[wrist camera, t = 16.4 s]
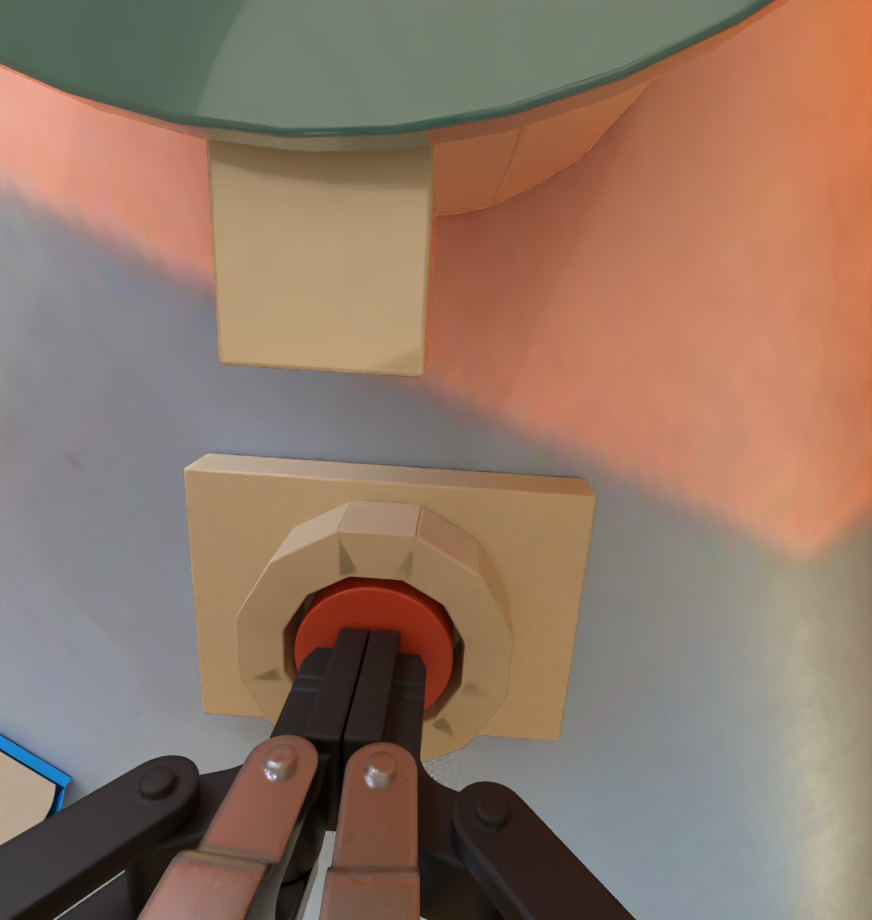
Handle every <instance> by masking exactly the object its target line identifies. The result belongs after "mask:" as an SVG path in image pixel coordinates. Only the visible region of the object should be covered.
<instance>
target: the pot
mask: <svg viewBox="0 0 872 920" xmlns="http://www.w3.org/2000/svg"><path fill="white" fill-rule="evenodd" d="M656 77H657V76H656ZM656 77H654V78H652V79H650V80H648V81H646V82H644V83H641V84H639V85H637V86H635V87H633V88H631V89H629V90H627V91H625V92H622V93H620V94H618V95H616V96H614V97H612V98H610V99H608V100H605V101H602V102H599V103H595V104H592V105H589V106H586V107H583V108H580V109H577V110H574V111H570V112H567V113H564V114H561V115H558V116H555V117H552V118H548V119H545V120H542V121H539V122H536V123H533V124H530V125H526V126H523V127H520V128H517V129H514V130H511V131H508V132H505V133H499V134H493V135H487V136H481V137H475V138H469V139H463V140H457V141H451V142H445V143H439V144H433V145H427V146H421V147H415V148H409V149H403V150H359V151H304V152H301V151H293V150H286V149H278V148H270V147H262V146H255V145H247V144H239V143H231V142H224V141H216V140H208V139H206V141H207V158H208V176H209V193H210V210H211V228H212V245H213V262H214V280H215V297H216V314H217V332H218V349H219V361H220V363H222V364H224V365H231V366H247V367H263V368H278V369H294V370H309V371H325V372H341V373H356V374H372V375H387V376H403V377H421V376H423V374H424V372H425V370H426V367H427V365H428V361H429V342H430V323H431V305H432V286H433V267H434V248H435V230H436V217H443V216H449V215H455V214H462V213H468V212H472V211H475V210H479V209H484V208H490V207H492V206H493V205H498V204H500V203H502V202H504V201H506V200H508V199H510V198H513V197H515V196H517V195H519V194H521V193H523V192H526V191H528V190H530V189H532V188H534V187H536V186H537V185H539V184H541V183H542V182H544V181H545V180H547V179H548V178H550V177H552V176H553V175H555V174H556V173H558V172H560V171H561V170H563V169H565V168H566V167H568V166H570V165H572V164H574V163H576V162H577V161H578V160H579V159H580V158H583V157H584V156H585V155H586V154H587V152H588V151H589V150H590V149H591V148H592V147H593V146H594V145H595V144H596V143H597V141H598V140H599V139H600V138H601V137H602V136H603V135H604V134H605V133H606V132H607V131H608V129H609V128H610V127H611V126H612V125H613V124H614V123H615V122H616V121H617V120H618V119H619V117H620V116H621V115H622V114H623V113H624V112H625V111H626V110H627V109H628V108H629V106H630V105H631V104H632V103H633V102H634V101H635V100H636V99H637V98H638V97H639V96H640V94H641V93H642V92H643V91H644V90H645V89H646V88H647V87H648V86H649V85H650V84H651V82H652V81H653V80H654V79H655V78H656Z"/></svg>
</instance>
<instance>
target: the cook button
mask: <svg viewBox="0 0 872 920" xmlns="http://www.w3.org/2000/svg"><path fill="white" fill-rule="evenodd" d="M341 628H352V629H366V630H370V633H371V631H372V630H381V631H394V632H401V642H400V653H407V654H419V655H420V657H421V659H422V661H423V663H424V665H425V667H426V669H427V671H426V687H425V702H424V710H425V709H426V708H428V707H429V706H430V705H431V704H433V703H434V702H435V701H436V699H437V698H438V697H439V696H440V695H441V693H442V692H443V690H444V689H445V687H446V685H447V683H448V681H449V678H450V675H451V672H452V666H453V628H454V623H453V621H452V620H451V618H450V616H449V614H448V612H447V611H446V609H445V607H444V605H443V604H441V603H439V602H438V601H436V600H434V599H433V598H431V597H429V596H428V595H426V594H424V593H423V592H421V591H419V590H418V589H416V588H414V587H413V586H411V585H409V584H408V583H406V582H404V581H403V580H392V579H378V578H365V577H351V576H349V577H347V578H345V579H343V580H340V581H338V582H336V583H334V584H331V585H329V586H327V587H325V588H322V589H320V590H318V591H316V593H315V595H314V598H313V600H312V602H311V604H310V606H309V608H308V610H307V612H306V614H305V616H304V618H303V620H302V623H301V625H300V627H299V630H298V632H297V635H296V640H295V651H294V652H295V661H296V665H297V669H298V671H299V668H300V666H301V664H302V661H303V659H305V658H306V657H307V656H308V655H309V654H310V653H311V652H312V651H313V650H314V649H316V648H317V647H324V648H334V645H335V642H336V639H337V636H338V633H339V631H340V629H341Z"/></svg>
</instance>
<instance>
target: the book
mask: <svg viewBox="0 0 872 920" xmlns="http://www.w3.org/2000/svg"><path fill="white" fill-rule="evenodd" d="M71 779H72V778H70V777H68V776H67V775H65V774H63V773H62V772H60V771H58V770H57V769H55V768H53V767H52V766H50V765H48V764H47V763H45V762H44V761H42V760H40V759H39V758H37V757H35V756H34V755H32V754H30V753H29V752H27V751H25V750H24V749H22V748H20V747H19V746H17V745H15V744H14V743H12V742H10V741H9V740H7V739H5V738H4V737H2V736H1V735H0V845H1V844H3V843H5V842H7V841H8V840H10V839H12V838H14V837H15V836H17V835H19V834H21V833H22V832H24V831H26V830H28V829H29V828H31V827H33V826H35V825H36V824H38V823H40V822H42V821H43V820H45V819H47V818H49V817H50V816H52V815H54V814H56V813H57V812H59V811H60V809H61V806H62V803H63V798H64V792H65V787H66V786H67V784H68V783H69V782H70V781H71Z"/></svg>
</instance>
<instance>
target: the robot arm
mask: <svg viewBox="0 0 872 920" xmlns="http://www.w3.org/2000/svg"><path fill="white" fill-rule="evenodd" d="M400 642H401V632H394V631H381V630H372V631H371V633H370V630H366V629H352V628H341V629H340V631H339V633H338V636H337V639H336V642H335V645H334V648H324V647H317V648H316V649H314V650H313V651H312V652H311V653H310V654H309V655H308V656H307V657H306V658H305V659H303V661H302V664H301V666H300V668H299V671H298V673H297V675H296V678H295V680H294V682H293V685H292V687H291V691H290V692H289V694H288V697H287V699H286V701H285V704H284V706H283V708H282V711H281V713H280V715H279V718H278V720H277V722H276V725H275V727H274V729H273V732H272V734H271V737H270V739H268V740H266V741H264V742H262V743H260V744H259V745H258V746H256V747H255V748H254V749H253V750H252V751H251V752H250V754H249V755H248V757H247V758H246V760H245V762H244V764H242V765H240V766H237V767H234V768H231V769H227V770H223V771H218V772H213V773H208V774H202V775H199V771H198V768H197V766H196V765H195V763H194V762H192V761H191V760H190V759H188V758H186V757H182V756H176V755H170V756H162V757H158V758H155V759H152V760H149V761H147V762H145V763H143V764H141V765H139V766H138V767H136V768H134V769H132V770H131V771H129V772H127V773H125V774H124V775H122V776H120V777H118V778H117V779H115V780H113V781H111V782H110V783H108V784H106V785H104V786H103V787H101V788H99V789H97V790H96V791H94V792H92V793H90V794H89V795H87V796H85V797H83V798H82V799H80V800H78V801H76V802H75V803H73V804H71V805H69V806H68V807H66V808H64V809H63V810H61V811H59V812H57V813H56V814H54V815H52V816H50V817H49V818H47V819H45V820H43V821H42V822H40V823H38V824H36V825H35V826H33V827H31V828H29V829H28V830H26V831H24V832H22V833H21V834H19V835H17V836H15V837H14V838H12V839H10V840H8V841H7V842H5V843H3V844H1V845H0V920H53V919H54V918H56V917H57V916H58V915H60V914H61V913H63V912H64V911H65V910H67V909H68V908H70V907H71V906H73V905H74V904H76V903H77V902H78V901H80V900H81V899H83V898H84V897H86V896H87V895H88V894H90V893H91V892H93V891H94V890H96V889H97V888H99V887H100V886H101V885H103V884H104V883H106V882H107V881H109V880H110V879H112V878H113V877H114V876H116V875H117V874H119V873H120V872H122V871H123V870H125V872H124V873H123V874H121V875H120V876H119V877H117V878H116V879H114V880H113V881H111V882H110V883H109V884H107V885H106V886H104V887H103V888H101V889H100V890H99V891H97V892H96V893H94V894H93V895H91V896H90V897H89V898H87V899H86V900H84V901H83V902H81V903H80V904H78V905H77V906H76V907H74V908H73V909H71V910H70V911H68V912H67V913H66V914H64V915H63V916H61V917H60V918H58V919H57V920H302V919H303V915H304V912H305V909H306V906H307V903H308V900H309V897H310V893H311V890H312V887H313V884H314V881H315V878H316V875H317V871H318V864H319V854H320V852H321V848H322V844H323V840H324V836H325V832H326V831H336V836H335V843H334V850H333V857H332V863H331V867H328V869H327V873H326V877H325V883H324V889H323V895H322V902H321V908H320V915H319V920H420V916H421V917H423V918H425V919H427V920H636V919H635V918H634V917H633V916H632V915H631V914H630V913H629V912H628V911H627V910H626V909H625V908H624V907H623V906H622V904H621V903H620V902H619V901H618V900H617V899H616V898H615V897H614V896H613V895H612V894H611V893H610V892H609V891H608V890H607V889H606V888H605V887H604V885H603V884H602V883H601V882H600V881H599V880H598V879H597V878H596V877H595V876H594V875H593V874H592V873H591V872H590V871H589V870H588V869H587V867H586V866H585V865H584V864H583V863H582V862H581V861H580V860H579V859H578V858H577V857H576V856H575V855H574V854H573V853H572V852H571V851H570V850H569V848H568V847H567V846H566V845H565V844H564V843H563V842H562V841H561V840H560V839H559V838H558V837H557V836H556V835H555V834H554V833H553V832H552V831H551V829H550V828H549V827H548V826H547V825H546V824H545V823H544V822H543V821H542V820H541V819H540V818H539V817H538V816H537V815H536V814H535V813H534V812H533V810H532V809H531V808H530V807H529V806H528V805H527V804H526V803H525V802H524V801H523V800H522V799H521V798H520V797H519V796H518V795H517V794H516V793H515V792H514V791H512V790H511V789H509V788H508V787H506V786H504V785H501V784H498V783H495V782H486V781H483V782H476V783H473V784H470V785H468V786H466V787H465V788H464V789H462V790H461V791H460V792H458V791H455V790H453V789H450V788H447V787H445V786H443V785H441V784H439V783H438V782H436V781H435V780H434V779H433V778H431V777H430V776H429V774H428V773H427V772H426V771H425V769H424V767H423V765H422V763H421V759H420V755H421V743H422V731H423V718H424V702H425V687H426V671H427V669H426V667H425V665H424V663H423V661H422V659H421V657H420V655H419V654H407V653H400Z"/></svg>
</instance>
